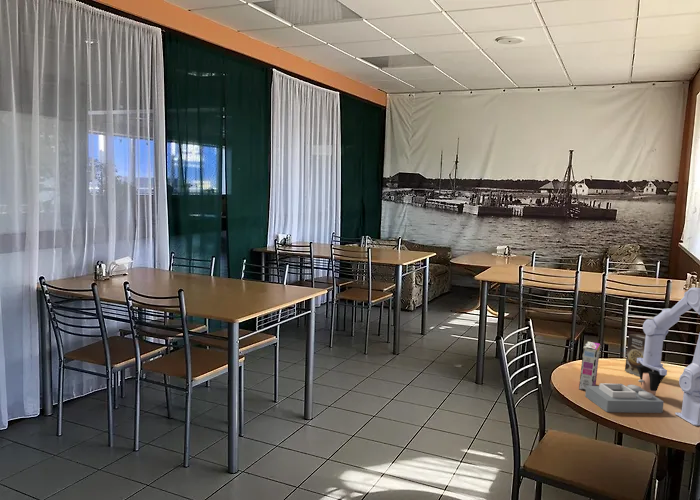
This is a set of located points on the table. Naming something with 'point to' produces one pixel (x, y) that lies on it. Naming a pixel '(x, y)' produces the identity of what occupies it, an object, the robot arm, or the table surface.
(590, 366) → the candy bar box
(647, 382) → the peach tapered capsule
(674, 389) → the table surface
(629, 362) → the coffee box
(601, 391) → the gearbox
